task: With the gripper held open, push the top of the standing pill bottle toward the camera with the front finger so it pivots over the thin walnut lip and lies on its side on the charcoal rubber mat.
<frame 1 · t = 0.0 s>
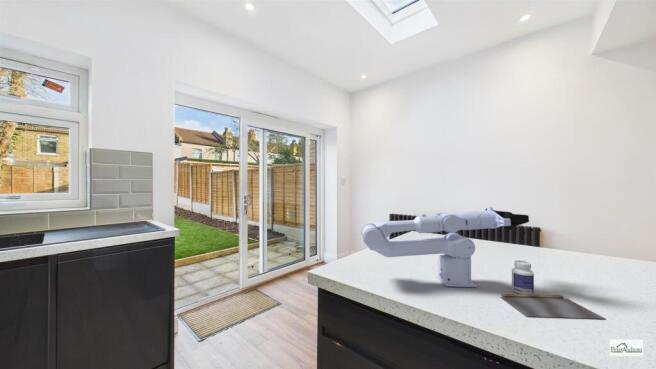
hand: (519, 216, 80), 22 cm above the table, tool horizontal, fingers open, 7 cm apart
tipping stop: (538, 301, 68), on the table
pill bottle: (522, 292, 74), on the table
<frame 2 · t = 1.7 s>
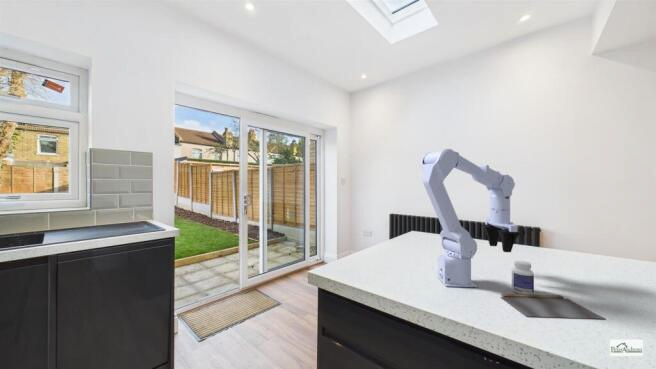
hand: (499, 248, 85), 10 cm above the table, tool pointing down, fingers open, 7 cm apart
nothing on the table moved.
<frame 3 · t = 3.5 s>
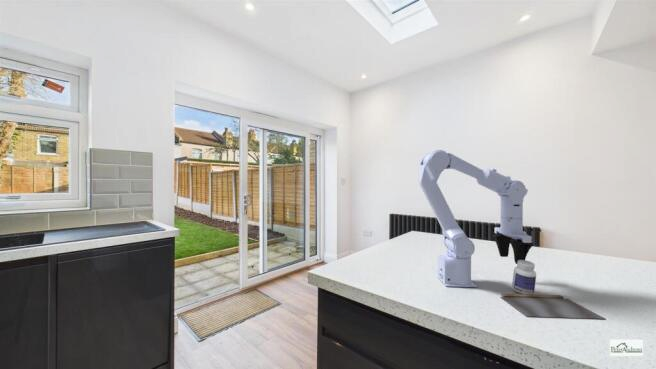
hand: (511, 260, 79), 8 cm above the table, tool pointing down, fingers open, 7 cm apart
pill bottle: (522, 291, 74), on the table, touching gripper
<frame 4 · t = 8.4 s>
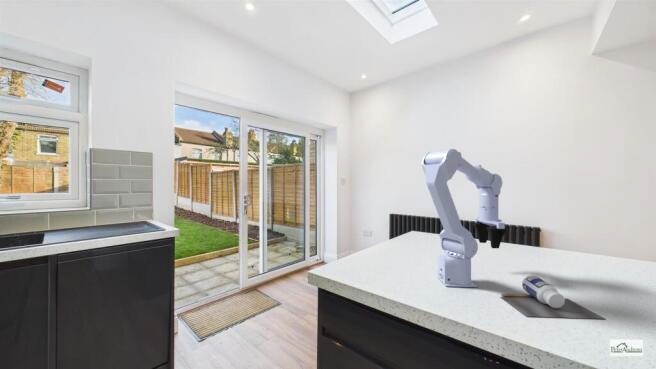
hand: (488, 245, 88), 10 cm above the table, tool pointing down, fingers open, 7 cm apart
pill bottle: (530, 282, 72), point 4 cm above the table, touching tipping stop
at the end: pill bottle tilted 97°; pill bottle inside the target area (5.9 cm from its centre), point 3.5 cm above the table; the gripper is holding nothing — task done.
